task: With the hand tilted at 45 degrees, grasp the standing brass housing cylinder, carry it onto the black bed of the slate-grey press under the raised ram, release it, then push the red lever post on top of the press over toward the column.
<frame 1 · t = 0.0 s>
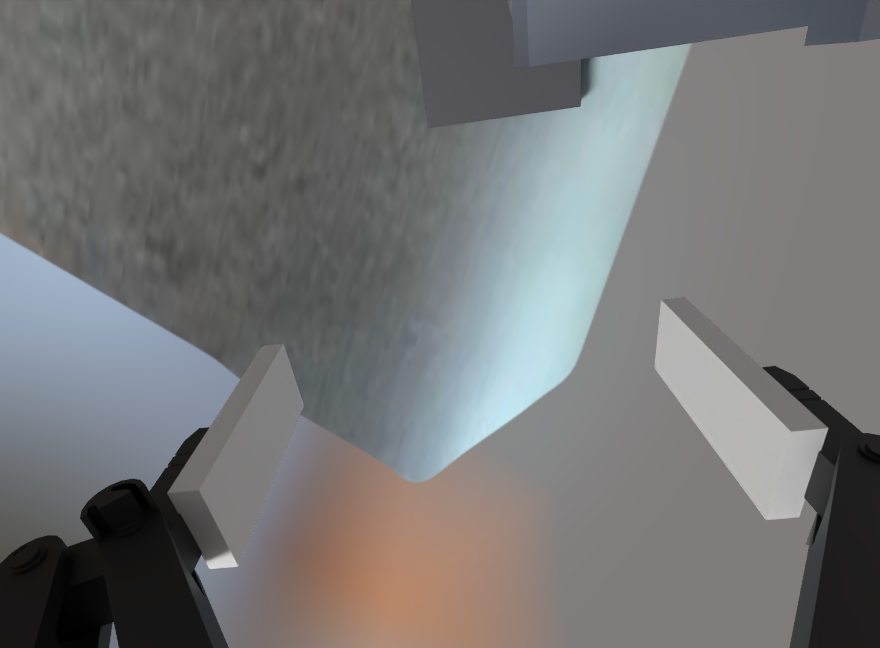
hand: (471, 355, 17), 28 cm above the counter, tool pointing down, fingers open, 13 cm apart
press: (496, 30, 36), on the counter
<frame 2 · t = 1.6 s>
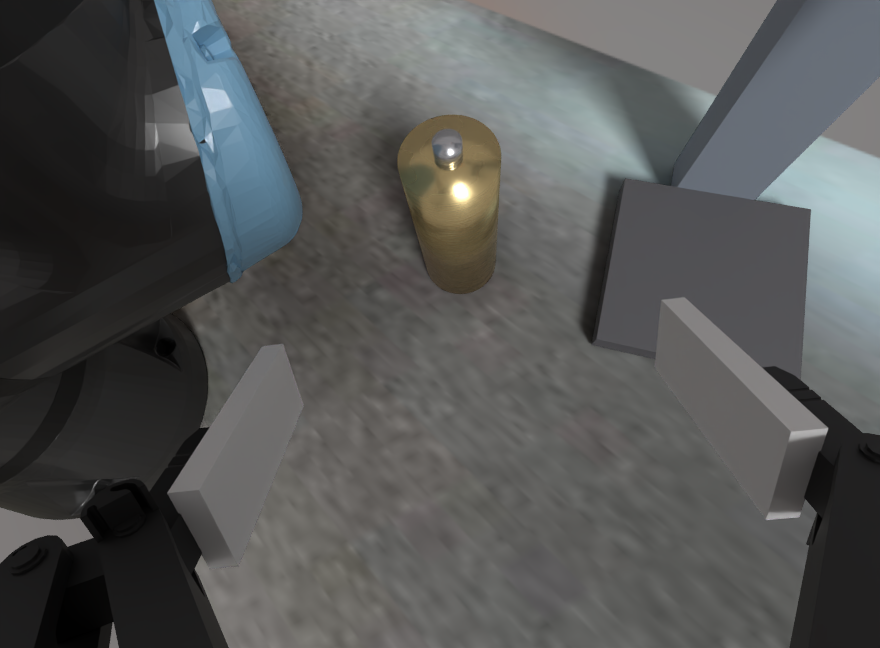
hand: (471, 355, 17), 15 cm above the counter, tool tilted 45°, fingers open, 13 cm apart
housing: (460, 261, 34), on the counter
press: (695, 281, 32), on the counter
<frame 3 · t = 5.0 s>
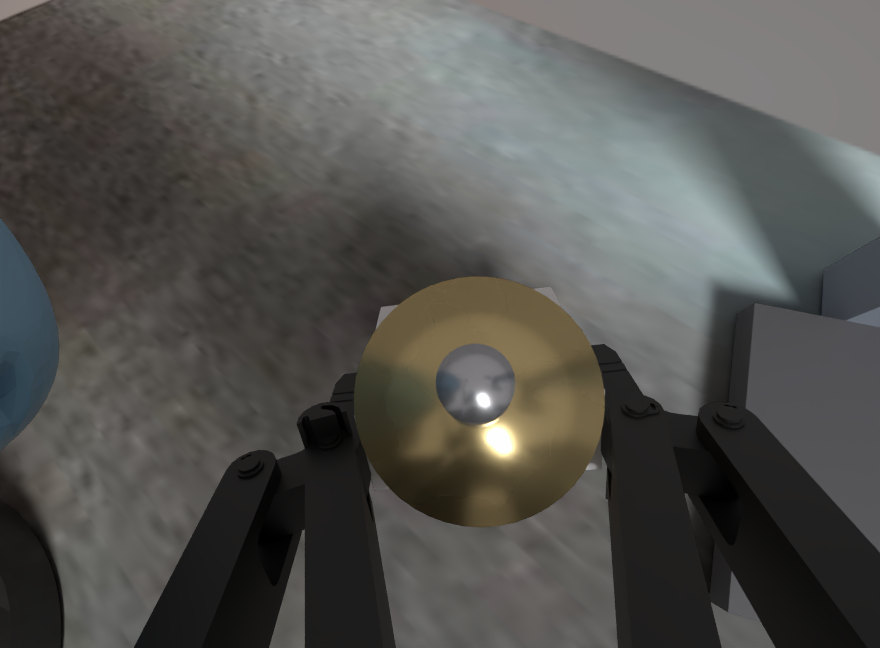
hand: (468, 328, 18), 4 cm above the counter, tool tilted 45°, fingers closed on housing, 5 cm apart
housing: (480, 432, 21), on the counter, touching gripper
when the fingers open (7 cm above the counter, at t = 10.9 s): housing drops 1 cm, resting on press.
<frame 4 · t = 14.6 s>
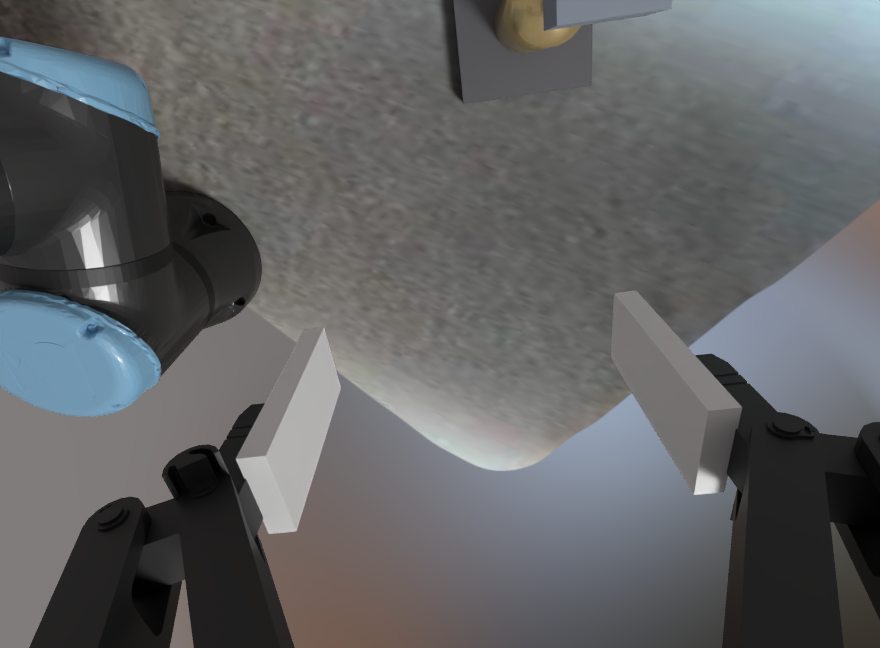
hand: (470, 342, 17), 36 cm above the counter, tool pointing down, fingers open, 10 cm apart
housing: (522, 21, 42), point 2 cm above the counter, touching press
press: (521, 21, 43), on the counter
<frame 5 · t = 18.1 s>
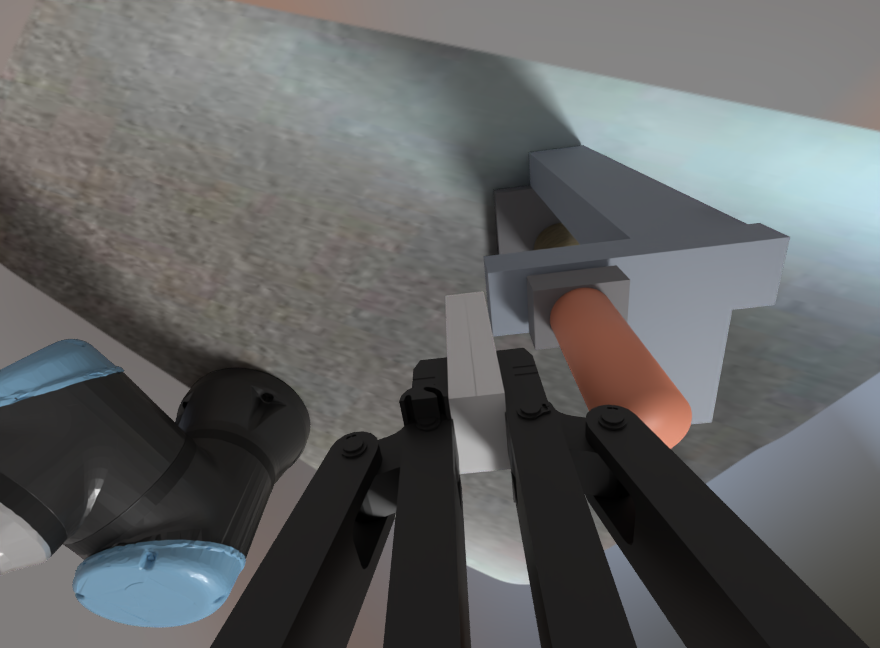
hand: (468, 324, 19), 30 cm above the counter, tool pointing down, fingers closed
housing: (559, 247, 46), point 2 cm above the counter, touching press
lever: (600, 348, 16), point 32 cm above the counter, slide at 1.3 cm, touching gripper
press: (556, 242, 48), on the counter
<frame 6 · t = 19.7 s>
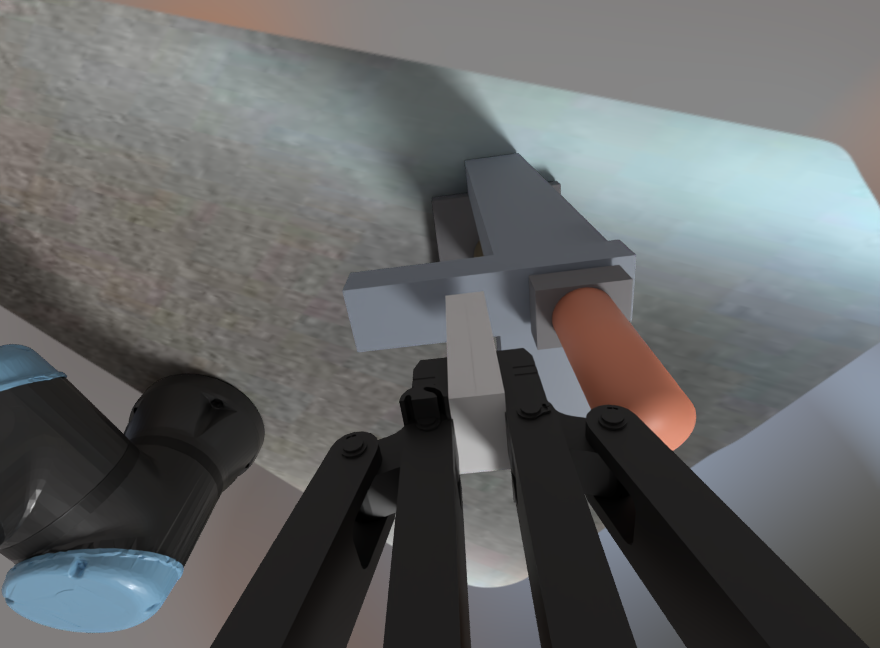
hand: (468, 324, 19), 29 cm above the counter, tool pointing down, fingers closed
lever: (603, 348, 16), point 32 cm above the counter, slide at 7.4 cm, touching gripper
press: (498, 248, 48), on the counter
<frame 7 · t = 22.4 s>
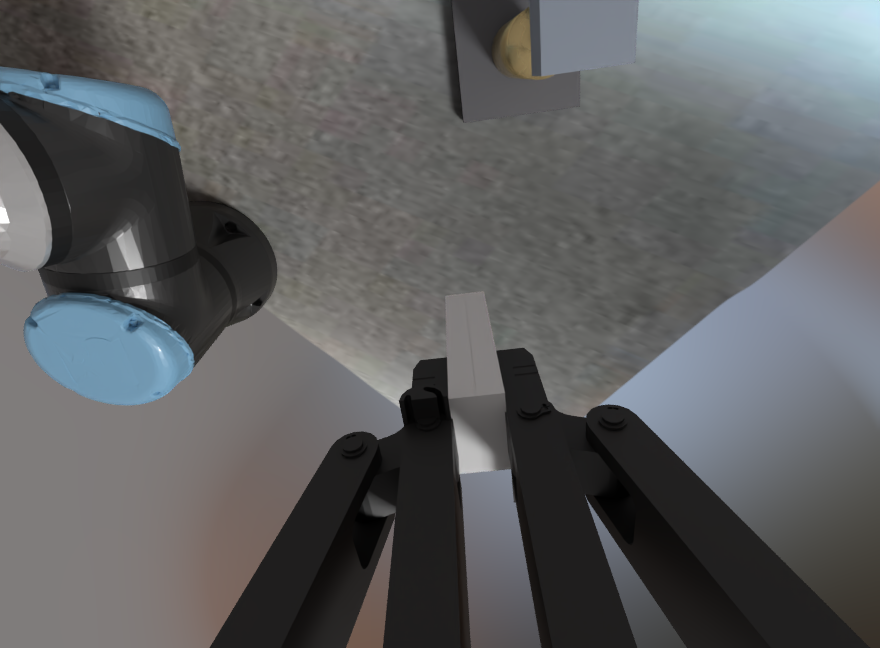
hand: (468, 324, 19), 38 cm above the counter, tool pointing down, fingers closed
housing: (517, 49, 46), point 2 cm above the counter, touching press
press: (516, 49, 47), on the counter
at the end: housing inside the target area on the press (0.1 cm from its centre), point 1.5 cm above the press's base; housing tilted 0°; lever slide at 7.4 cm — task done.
